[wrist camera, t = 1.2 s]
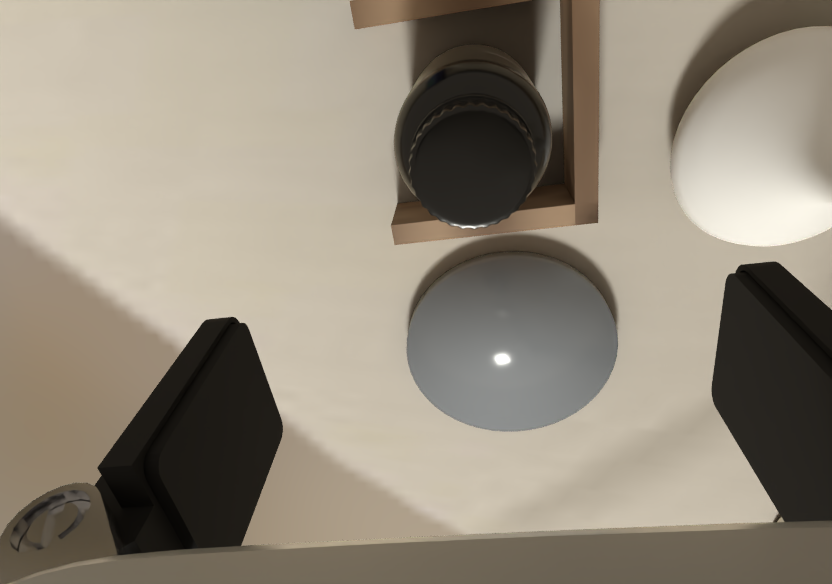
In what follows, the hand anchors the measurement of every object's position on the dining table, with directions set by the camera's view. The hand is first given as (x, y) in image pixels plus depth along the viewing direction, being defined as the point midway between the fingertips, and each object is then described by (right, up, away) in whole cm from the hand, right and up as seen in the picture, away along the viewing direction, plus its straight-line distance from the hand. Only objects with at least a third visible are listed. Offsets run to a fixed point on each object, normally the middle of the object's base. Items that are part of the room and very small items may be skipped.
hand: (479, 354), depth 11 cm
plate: (+5, -2, +27) cm, 28 cm away
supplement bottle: (+2, +12, +20) cm, 23 cm away
